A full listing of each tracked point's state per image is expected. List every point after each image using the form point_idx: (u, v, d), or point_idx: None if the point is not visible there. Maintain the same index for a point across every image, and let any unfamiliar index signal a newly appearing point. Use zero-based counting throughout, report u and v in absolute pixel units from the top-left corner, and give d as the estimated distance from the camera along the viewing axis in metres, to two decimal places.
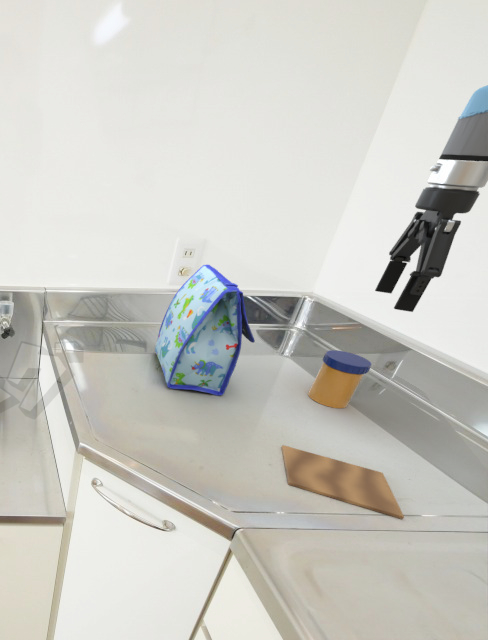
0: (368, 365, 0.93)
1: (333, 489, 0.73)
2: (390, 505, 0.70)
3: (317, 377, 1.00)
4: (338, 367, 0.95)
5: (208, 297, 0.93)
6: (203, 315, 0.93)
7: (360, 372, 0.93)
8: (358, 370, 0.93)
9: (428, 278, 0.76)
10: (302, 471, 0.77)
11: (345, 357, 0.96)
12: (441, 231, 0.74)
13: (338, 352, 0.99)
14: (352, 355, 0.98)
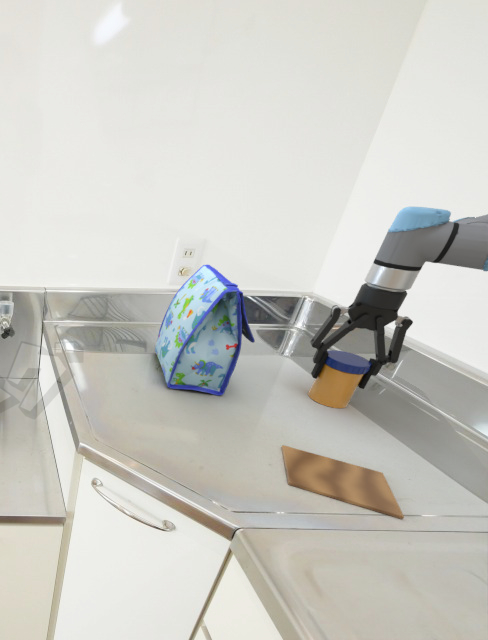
0: (368, 365, 0.93)
1: (333, 489, 0.73)
2: (390, 505, 0.70)
3: (317, 377, 1.00)
4: (338, 367, 0.95)
5: (208, 297, 0.93)
6: (203, 315, 0.93)
7: (360, 372, 0.93)
8: (358, 370, 0.93)
9: (317, 349, 0.98)
10: (302, 471, 0.77)
11: (345, 357, 0.96)
12: (330, 314, 0.95)
13: (338, 352, 0.99)
14: (352, 355, 0.98)
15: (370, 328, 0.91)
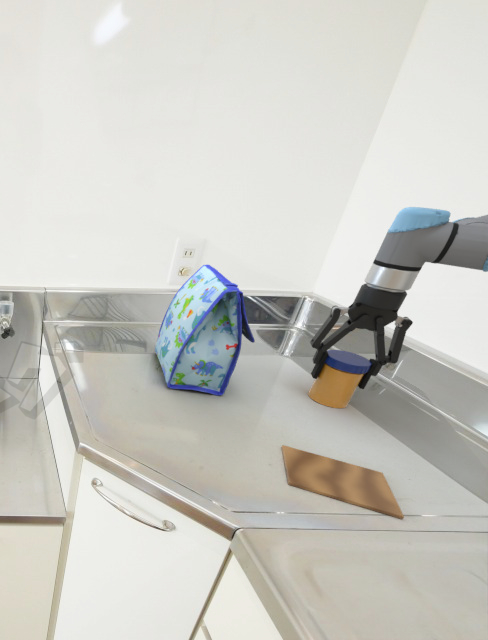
0: (353, 353, 0.98)
1: (333, 489, 0.73)
2: (390, 505, 0.70)
3: (317, 377, 1.00)
4: (368, 369, 0.94)
5: (208, 297, 0.93)
6: (203, 315, 0.93)
7: None
8: None
9: (317, 350, 0.98)
10: (302, 471, 0.77)
11: (349, 358, 0.96)
12: (330, 314, 0.95)
13: (337, 358, 0.95)
14: (332, 353, 0.98)
15: (370, 328, 0.91)
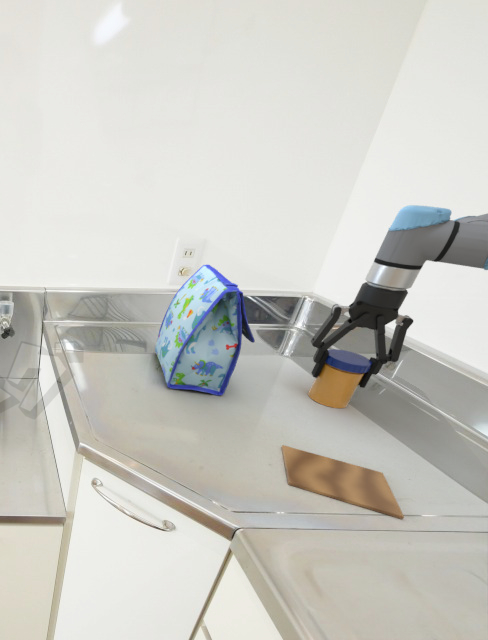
0: None
1: (333, 489, 0.73)
2: (390, 505, 0.70)
3: (317, 377, 1.00)
4: None
5: (208, 297, 0.93)
6: (203, 315, 0.93)
7: None
8: None
9: (318, 349, 0.97)
10: (302, 471, 0.77)
11: (351, 357, 0.96)
12: (331, 313, 0.95)
13: (362, 363, 0.93)
14: (349, 361, 0.94)
15: (371, 327, 0.91)
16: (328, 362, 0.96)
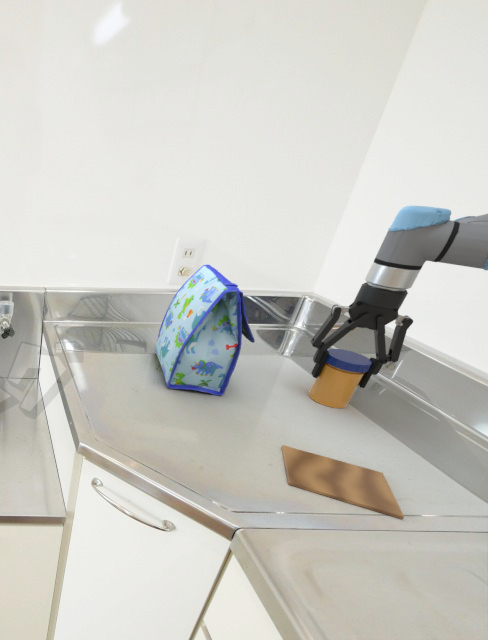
0: (350, 362, 0.93)
1: (333, 489, 0.73)
2: (390, 505, 0.70)
3: (317, 377, 1.00)
4: None
5: (208, 297, 0.93)
6: (203, 315, 0.93)
7: (336, 365, 0.95)
8: (334, 362, 0.95)
9: (318, 349, 0.97)
10: (302, 471, 0.77)
11: (348, 355, 0.96)
12: (331, 313, 0.95)
13: (356, 354, 0.97)
14: (365, 359, 0.95)
15: (370, 327, 0.91)
16: (363, 371, 0.93)
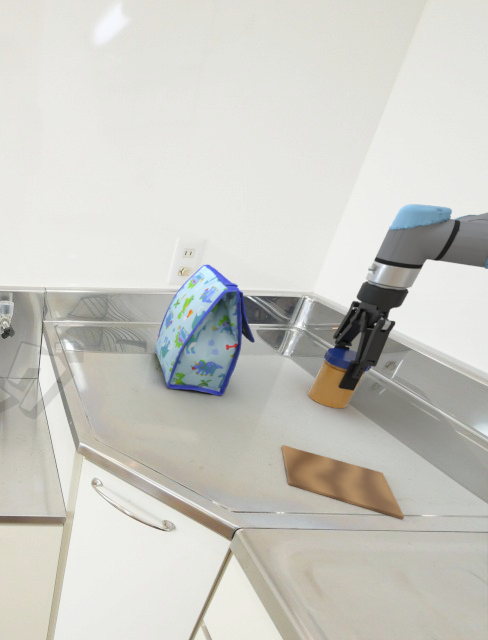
0: None
1: (333, 489, 0.73)
2: (390, 505, 0.70)
3: (317, 377, 1.00)
4: None
5: (208, 297, 0.93)
6: (203, 315, 0.93)
7: (369, 368, 0.93)
8: (368, 367, 0.93)
9: (365, 366, 0.90)
10: (302, 471, 0.77)
11: (347, 355, 0.96)
12: (379, 329, 0.86)
13: (334, 350, 0.98)
14: (344, 350, 0.98)
15: None
16: None
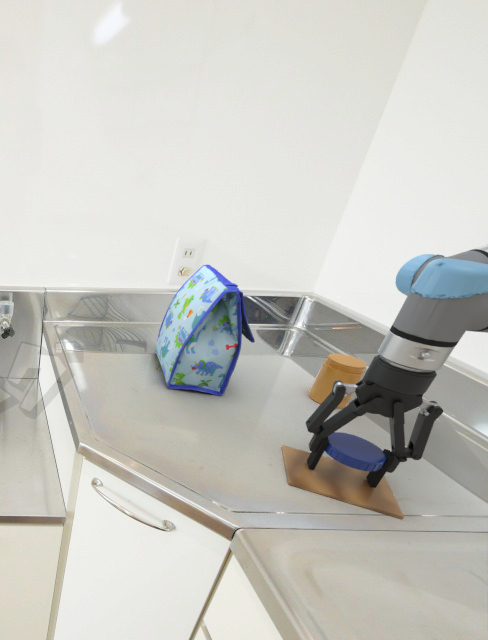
0: (354, 436, 0.76)
1: (333, 489, 0.73)
2: (390, 505, 0.70)
3: (317, 377, 1.00)
4: None
5: (208, 297, 0.93)
6: (203, 315, 0.93)
7: None
8: None
9: None
10: (302, 471, 0.77)
11: (357, 448, 0.73)
12: None
13: (346, 450, 0.72)
14: (335, 441, 0.74)
15: None
16: None
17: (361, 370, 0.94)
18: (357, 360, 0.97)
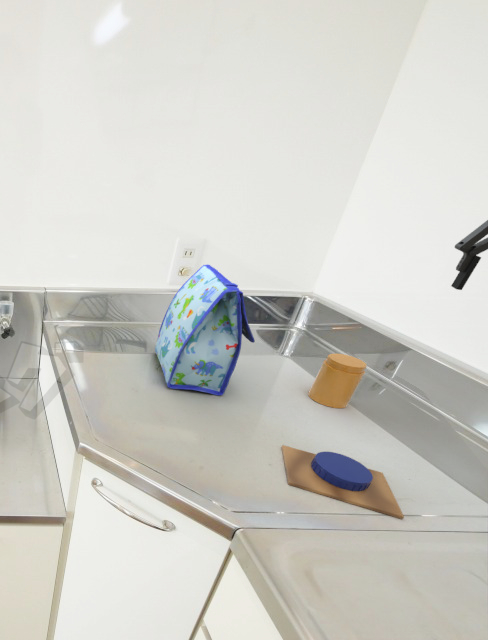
0: (342, 455, 0.78)
1: (333, 489, 0.73)
2: (390, 505, 0.70)
3: (317, 377, 1.00)
4: None
5: (208, 297, 0.93)
6: (203, 315, 0.93)
7: None
8: None
9: None
10: (302, 471, 0.77)
11: (344, 468, 0.75)
12: None
13: (333, 471, 0.74)
14: (323, 460, 0.77)
15: None
16: None
17: (361, 370, 0.94)
18: (357, 360, 0.97)
